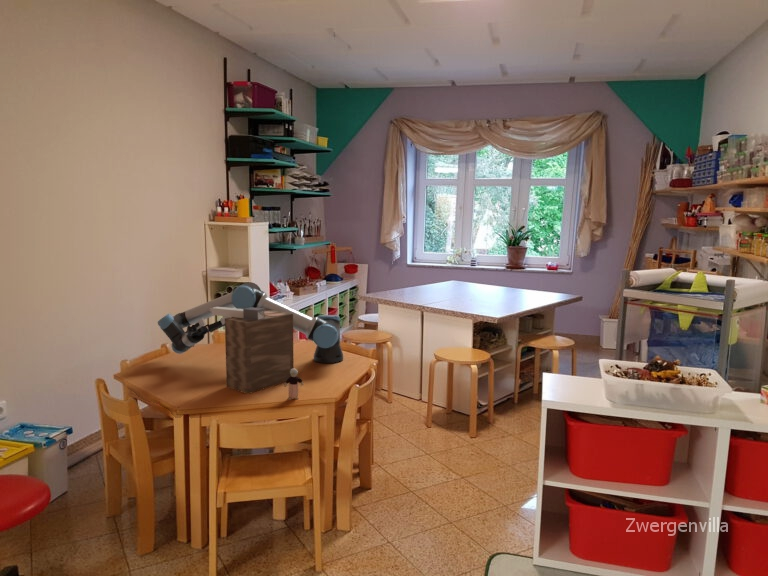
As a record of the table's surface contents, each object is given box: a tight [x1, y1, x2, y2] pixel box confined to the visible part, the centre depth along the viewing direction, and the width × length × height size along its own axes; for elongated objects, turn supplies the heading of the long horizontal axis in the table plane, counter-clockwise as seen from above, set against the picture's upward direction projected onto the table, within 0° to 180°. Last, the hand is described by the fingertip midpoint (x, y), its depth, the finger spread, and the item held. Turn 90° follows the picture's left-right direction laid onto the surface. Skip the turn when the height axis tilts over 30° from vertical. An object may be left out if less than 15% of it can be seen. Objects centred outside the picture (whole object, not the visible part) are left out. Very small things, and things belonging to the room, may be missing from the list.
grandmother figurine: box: [284, 367, 304, 401], centre depth 226 cm, size 8×4×13 cm, turn 114°
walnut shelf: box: [224, 310, 295, 395], centre depth 244 cm, size 14×26×30 cm, turn 143°
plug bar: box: [209, 307, 264, 320], centre depth 240 cm, size 26×5×4 cm, turn 68°
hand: (216, 318), depth 251 cm, fingers open, 13 cm apart
